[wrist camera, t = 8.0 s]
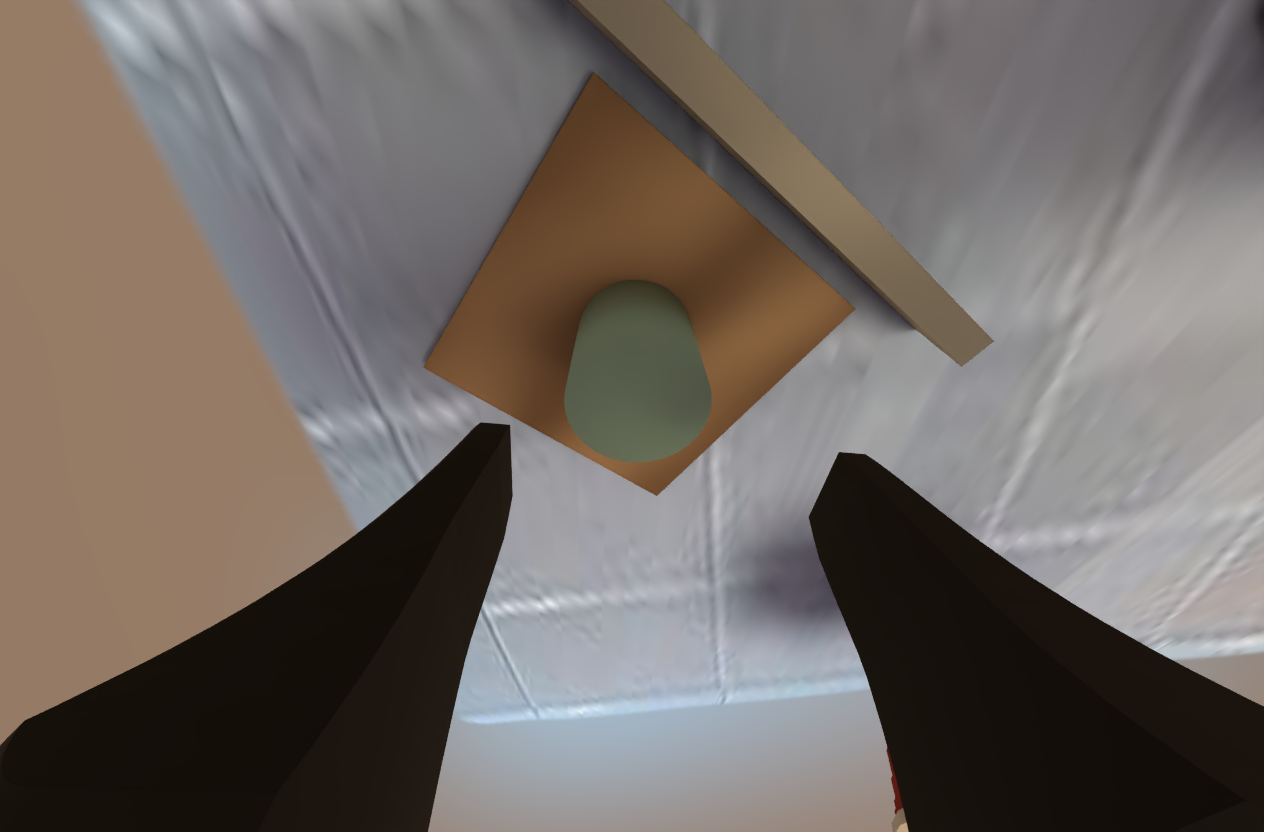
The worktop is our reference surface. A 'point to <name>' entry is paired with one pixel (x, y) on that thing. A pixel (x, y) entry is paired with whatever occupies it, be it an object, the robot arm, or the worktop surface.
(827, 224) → the taupe wall
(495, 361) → the walnut board
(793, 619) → the worktop surface
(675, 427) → the sage green cylinder
